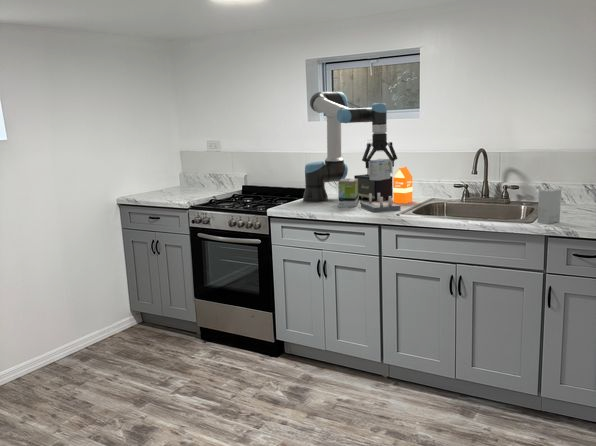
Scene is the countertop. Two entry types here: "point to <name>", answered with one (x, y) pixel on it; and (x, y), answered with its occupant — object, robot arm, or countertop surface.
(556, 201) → the skincare box
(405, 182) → the orange juice
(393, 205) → the pin tray
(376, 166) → the light bulb box
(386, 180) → the speaker
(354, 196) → the tea box
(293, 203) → the countertop surface
